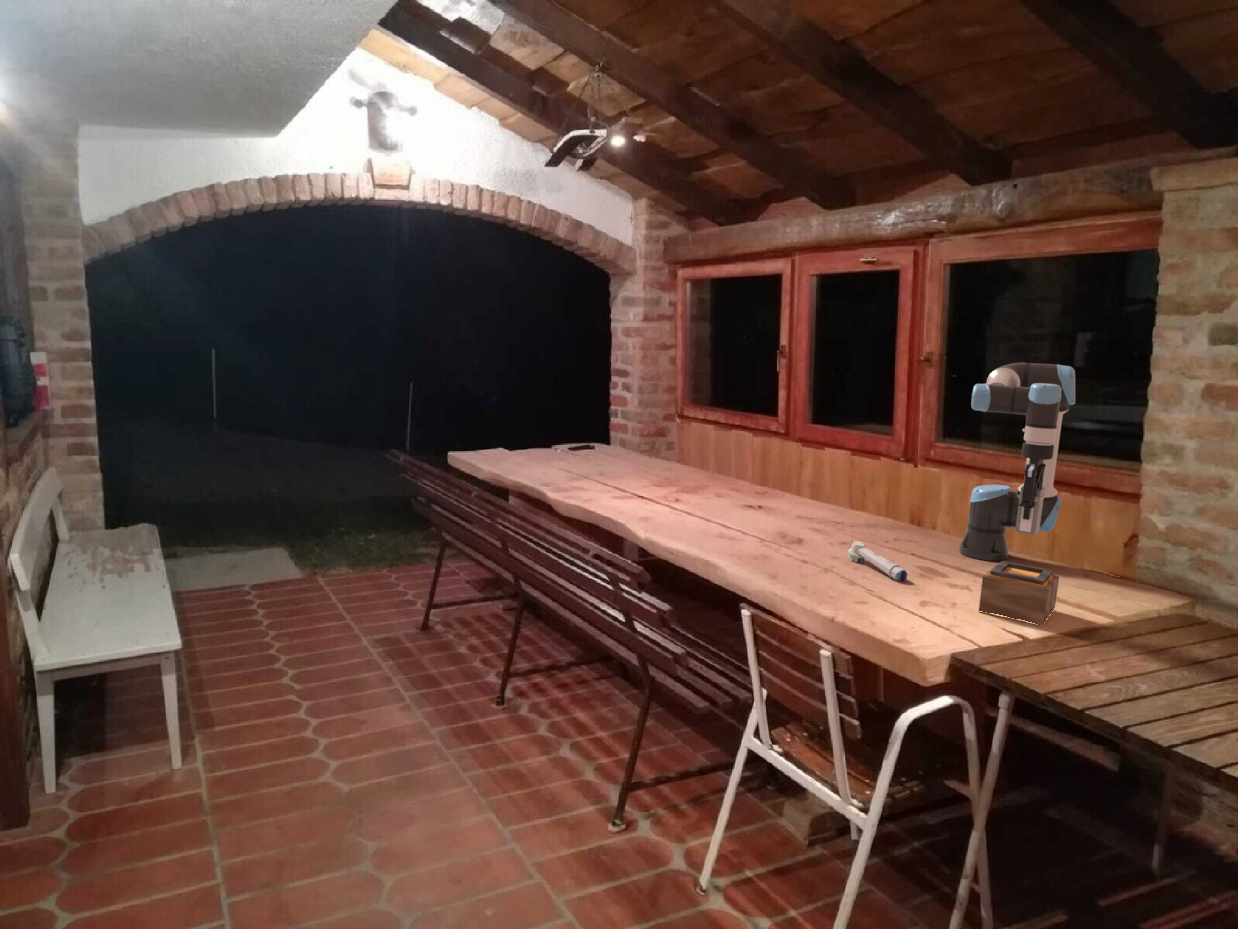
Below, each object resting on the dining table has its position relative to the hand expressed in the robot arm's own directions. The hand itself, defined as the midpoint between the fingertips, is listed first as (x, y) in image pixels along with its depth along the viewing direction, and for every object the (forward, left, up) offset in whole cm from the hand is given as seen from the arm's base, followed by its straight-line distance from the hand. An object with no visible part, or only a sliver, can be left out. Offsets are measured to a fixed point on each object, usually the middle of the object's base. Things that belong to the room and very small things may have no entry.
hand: (1027, 528), depth 243 cm
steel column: (0, 0, -1) cm, 1 cm away
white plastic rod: (-11, -44, -24) cm, 51 cm away
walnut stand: (0, 0, -23) cm, 23 cm away
